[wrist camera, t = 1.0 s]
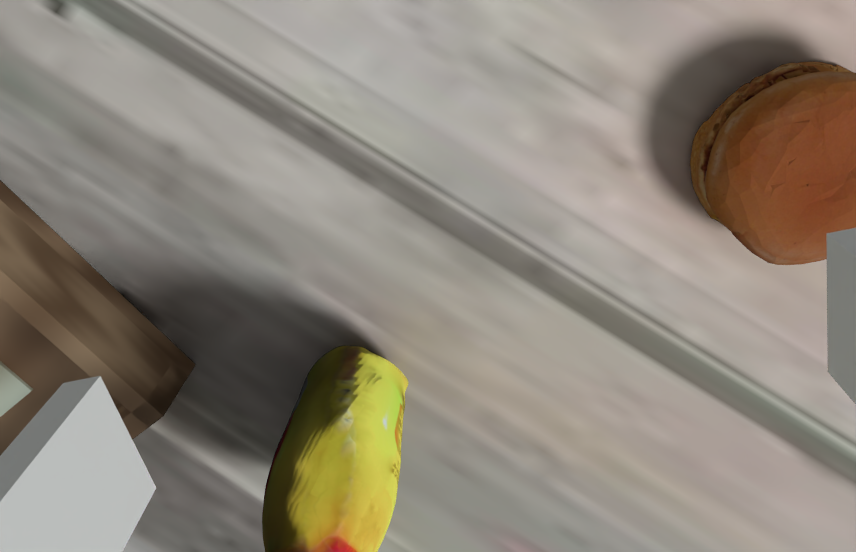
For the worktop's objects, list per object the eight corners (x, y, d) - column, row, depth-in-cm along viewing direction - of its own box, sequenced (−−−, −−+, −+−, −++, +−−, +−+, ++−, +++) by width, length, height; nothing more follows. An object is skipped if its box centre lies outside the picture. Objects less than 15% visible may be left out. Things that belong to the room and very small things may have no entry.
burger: (652, 188, 38) (677, 218, 34) (768, 21, 34) (812, 31, 30) (803, 272, 40) (846, 311, 35) (929, 121, 36) (992, 144, 32)
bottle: (372, 498, 47) (317, 850, 29) (275, 472, 46) (156, 813, 28) (429, 344, 42) (407, 648, 24) (322, 312, 41) (215, 598, 23)
